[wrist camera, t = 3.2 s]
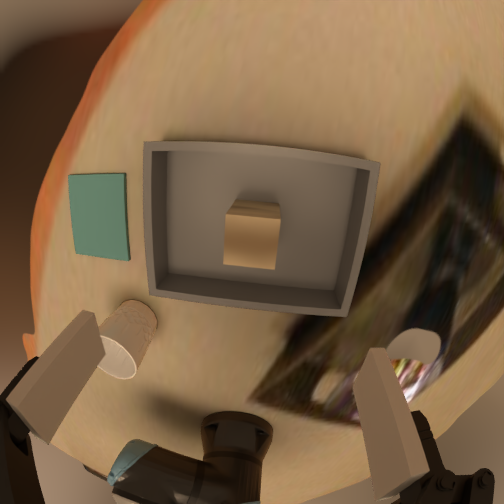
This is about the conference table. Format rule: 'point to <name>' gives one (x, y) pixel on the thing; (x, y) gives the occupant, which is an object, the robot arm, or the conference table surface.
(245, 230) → the maple block
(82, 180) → the teal mat
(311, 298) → the crate
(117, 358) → the white cup
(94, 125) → the conference table surface
